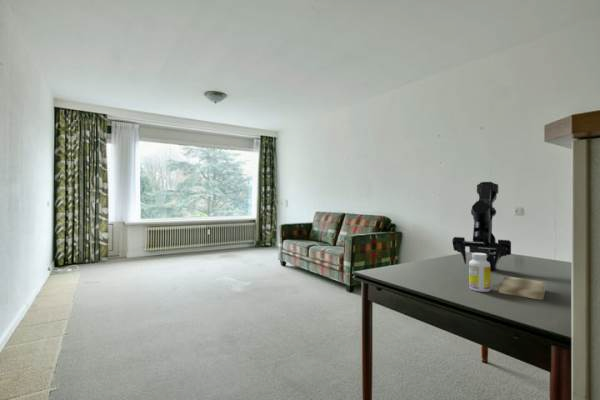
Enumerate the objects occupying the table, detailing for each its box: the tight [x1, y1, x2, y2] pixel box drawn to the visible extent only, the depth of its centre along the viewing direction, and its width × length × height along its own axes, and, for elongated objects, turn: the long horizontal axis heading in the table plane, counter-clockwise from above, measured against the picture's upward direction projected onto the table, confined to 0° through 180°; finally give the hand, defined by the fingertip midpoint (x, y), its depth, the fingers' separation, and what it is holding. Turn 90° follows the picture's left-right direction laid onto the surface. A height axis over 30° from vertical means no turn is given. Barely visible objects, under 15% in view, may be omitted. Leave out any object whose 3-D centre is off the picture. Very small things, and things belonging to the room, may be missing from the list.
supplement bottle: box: [468, 252, 492, 293], centre depth 113 cm, size 7×7×13 cm
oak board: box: [498, 276, 547, 301], centre depth 110 cm, size 12×12×3 cm
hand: (479, 264), depth 113 cm, fingers open, 9 cm apart
